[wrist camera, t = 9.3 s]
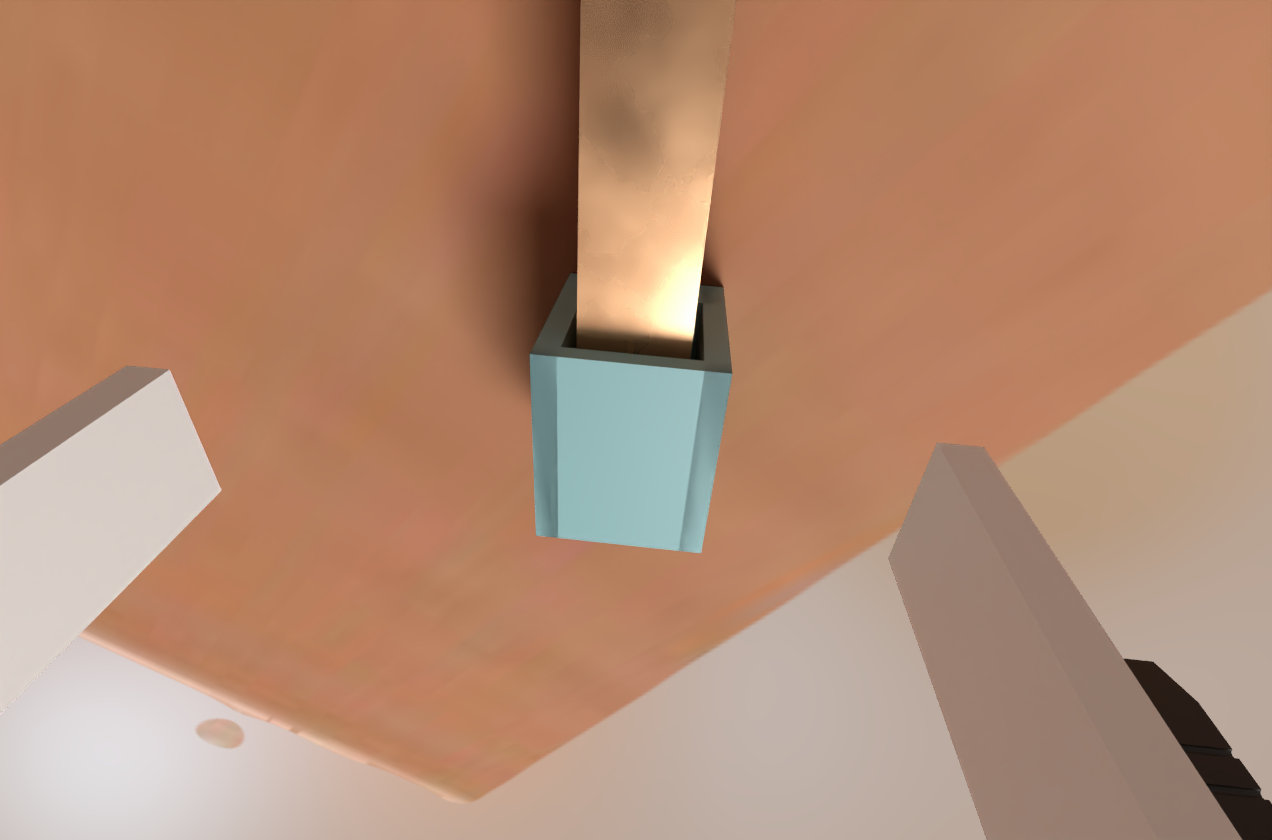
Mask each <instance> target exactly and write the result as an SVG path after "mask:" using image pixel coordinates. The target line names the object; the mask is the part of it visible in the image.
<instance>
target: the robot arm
mask: <svg viewBox="0 0 1272 840" xmlns="http://www.w3.org/2000/svg"><path fill="white" fill-rule="evenodd" d="M220 491H221V488H220V486H219V484H218V481H217V479H216V477H215V474H214V472H213V470H212V467H211V465H210V463H209V460H208V458H207V456H206V453H205V451H204V449H203V446H202V444H201V442H200V439H199V437H198V435H197V432H196V430H195V428H194V425H193V423H192V421H191V418H190V416H189V414H188V411H187V409H186V407H185V404H184V402H183V400H182V397H181V395H180V393H179V390H178V388H177V386H176V383H175V381H174V379H173V376H172V374H171V372H170V370H168V369H158V368H147V367H136V366H125V367H124V368H122V369H121V370H119V371H117V372H116V373H114V374H113V375H111V376H109V377H108V378H106V379H105V380H103V381H101V382H100V383H98V384H97V385H95V386H93V387H92V388H90V389H89V390H87V391H85V392H84V393H82V394H81V395H79V396H77V397H76V398H74V399H73V400H71V401H69V402H68V403H66V404H65V405H63V406H61V407H60V408H58V409H57V410H55V411H53V412H52V413H50V414H49V415H47V416H45V417H44V418H42V419H41V420H39V421H37V422H36V423H34V424H33V425H31V426H29V427H28V428H26V429H25V430H23V431H22V432H20V433H18V434H17V435H15V436H14V437H12V438H10V439H9V440H7V441H6V442H4V443H2V444H1V445H0V714H2V712H3V711H4V710H5V709H6V708H7V707H8V706H9V705H10V704H11V703H12V702H13V701H14V700H15V699H16V698H17V697H18V696H19V695H20V694H21V693H22V692H23V691H24V690H25V689H26V688H27V687H28V686H29V685H30V684H31V683H32V682H33V681H34V680H35V679H36V678H37V677H38V676H39V675H40V674H41V673H42V672H43V671H44V670H45V669H46V668H47V667H48V666H49V665H50V664H51V663H52V662H53V661H54V660H55V659H56V658H57V657H58V656H59V655H60V654H61V653H62V651H64V650H65V649H66V647H68V646H69V644H71V643H72V642H73V641H74V639H75V638H76V637H77V636H78V635H79V634H80V633H81V632H82V631H83V630H84V629H85V628H86V627H87V626H88V625H89V624H90V623H91V622H92V621H93V620H94V619H95V618H96V617H97V616H98V615H99V614H100V613H101V612H102V611H103V610H104V609H105V608H106V607H107V606H108V605H109V604H110V603H111V602H112V601H113V600H114V599H115V598H116V597H117V596H118V595H119V594H120V593H121V592H122V591H123V590H124V589H125V588H126V587H127V586H128V585H129V584H130V583H131V582H132V581H133V580H134V579H135V578H136V577H137V576H138V575H139V574H140V573H141V572H142V571H143V570H144V569H145V568H146V567H147V565H148V564H149V563H150V562H151V561H152V560H153V559H154V558H155V557H156V556H157V555H158V554H159V553H160V552H161V551H162V550H163V549H164V548H165V547H166V546H167V545H168V544H169V543H170V542H171V541H172V540H173V539H174V538H175V537H176V536H177V535H178V534H179V533H180V532H181V531H182V530H183V529H184V528H185V527H186V526H187V525H188V524H189V523H190V522H191V521H192V520H193V519H194V518H195V517H196V516H197V515H198V514H199V513H200V512H201V511H202V510H203V509H204V508H205V507H206V506H207V505H208V504H209V503H210V502H211V501H212V500H213V499H214V498H215V497H216V496H217V495H218V494H219V493H220ZM889 562H890V565H891V567H892V571H893V573H894V576H895V579H896V582H897V585H898V588H899V591H900V593H901V596H902V599H903V602H904V605H905V608H906V610H907V613H908V616H909V619H910V622H911V625H912V628H913V630H914V633H915V636H916V639H917V642H918V645H919V648H920V650H921V653H922V656H923V659H924V661H925V665H926V668H927V670H928V673H929V676H930V679H931V682H932V685H933V688H934V690H935V693H936V696H937V699H938V702H939V705H940V707H941V710H942V713H943V716H944V719H945V722H946V725H947V728H948V730H949V733H950V736H951V739H952V742H953V745H954V747H955V750H956V753H957V756H958V759H959V762H960V764H961V768H962V770H963V773H964V776H965V779H966V781H967V785H968V788H969V790H970V793H971V796H972V799H973V802H974V805H975V808H976V810H977V813H978V816H979V819H980V822H981V825H982V827H983V830H984V833H985V836H986V839H987V840H1272V804H1271V802H1270V801H1269V800H1264V799H1263V798H1262V796H1261V794H1260V791H1261V788H1260V787H1259V786H1258V784H1257V783H1256V782H1255V780H1254V779H1253V777H1252V776H1251V775H1250V773H1249V772H1248V770H1247V769H1246V768H1245V766H1244V765H1243V764H1242V762H1241V761H1240V760H1239V759H1236V758H1234V757H1233V756H1232V754H1231V751H1232V748H1231V747H1230V746H1229V744H1228V743H1227V741H1226V740H1225V739H1224V738H1223V736H1222V735H1221V733H1220V732H1219V730H1218V729H1217V728H1216V726H1215V725H1214V724H1213V722H1212V721H1211V719H1210V718H1209V717H1208V715H1207V714H1206V712H1205V711H1204V710H1203V709H1202V707H1201V706H1200V704H1199V703H1198V702H1197V701H1196V700H1195V699H1194V698H1193V697H1192V696H1190V695H1189V694H1188V693H1187V692H1186V691H1185V690H1184V689H1183V688H1182V687H1181V686H1179V685H1178V684H1177V683H1176V682H1175V681H1174V680H1173V679H1172V678H1171V677H1169V676H1168V675H1167V674H1166V673H1165V672H1164V671H1163V670H1162V669H1161V668H1159V667H1158V666H1157V665H1156V664H1155V663H1154V662H1150V661H1140V660H1131V659H1123V658H1122V656H1121V655H1120V653H1119V652H1118V650H1117V649H1116V647H1115V645H1114V644H1113V642H1112V641H1111V640H1110V638H1109V637H1108V635H1107V633H1106V632H1105V630H1104V629H1103V628H1102V626H1101V624H1100V623H1099V622H1098V620H1097V618H1096V617H1095V615H1094V614H1093V612H1092V610H1091V609H1090V607H1089V606H1088V605H1087V603H1086V601H1085V600H1084V599H1083V597H1082V595H1081V594H1080V592H1079V591H1078V589H1077V588H1076V586H1075V585H1074V583H1073V582H1072V580H1071V579H1070V577H1069V576H1068V574H1067V573H1066V571H1065V569H1064V568H1063V567H1062V565H1061V563H1060V562H1059V561H1058V559H1057V557H1056V556H1055V554H1054V553H1053V551H1052V550H1051V548H1050V547H1049V545H1048V544H1047V542H1046V541H1045V539H1044V538H1043V536H1042V534H1041V533H1040V531H1039V530H1038V528H1037V527H1036V526H1035V524H1034V522H1033V521H1032V519H1031V518H1030V516H1029V515H1028V513H1027V512H1026V510H1025V509H1024V507H1023V506H1022V504H1021V503H1020V501H1019V500H1018V498H1017V497H1016V495H1015V493H1014V492H1013V490H1012V489H1011V487H1010V486H1009V485H1008V483H1007V481H1006V480H1005V478H1004V477H1003V475H1002V474H1001V472H1000V471H999V469H998V468H997V466H996V465H995V463H994V462H993V460H992V458H991V457H990V455H989V454H988V452H987V451H986V449H985V448H984V447H978V446H968V445H957V444H947V443H937V444H936V446H935V449H934V451H933V453H932V456H931V458H930V461H929V463H928V465H927V468H926V470H925V472H924V475H923V477H922V480H921V482H920V484H919V487H918V489H917V491H916V494H915V496H914V498H913V501H912V503H911V506H910V508H909V510H908V513H907V515H906V517H905V520H904V522H903V525H902V527H901V529H900V532H899V534H898V536H897V539H896V541H895V544H894V546H893V549H892V551H891V553H890V555H889Z"/></svg>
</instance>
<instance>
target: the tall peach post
mask: <svg viewBox="0 0 1272 840" xmlns="http://www.w3.org/2000/svg"><path fill="white" fill-rule="evenodd" d="M735 6H736V0H581V18H580V101H579V185H578V268H577V349H587V350H597V351H607V352H618V353H628V354H638V355H649V356H659V357H669V358H680V359H690V357H691V349H692V341H693V333H694V326H695V318H696V310H697V302H698V294H699V287H700V279H701V271H702V263H703V255H704V248H705V240H706V232H707V224H708V217H709V209H710V201H711V193H712V185H713V178H714V170H715V162H716V154H717V146H718V139H719V131H720V123H721V115H722V107H723V100H724V92H725V84H726V76H727V69H728V61H729V53H730V45H731V37H732V30H733V22H734V14H735Z"/></svg>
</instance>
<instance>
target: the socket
mask: <svg viewBox="0 0 1272 840" xmlns="http://www.w3.org/2000/svg"><path fill="white" fill-rule="evenodd" d="M731 378H732V367H731V357H730V347H729V337H728V327H727V317H726V308H725V298H724V288H723V287H715V286H705V285H700V287H699V294H698V302H697V310H696V318H695V326H694V333H693V341H692V349H691V357H690V359H680V358H669V357H659V356H649V355H638V354H628V353H618V352H607V351H597V350H587V349H577V274H575V273H570V275H569V277H568V279H567V281H566V283H565V285H564V287H563V289H562V291H561V293H560V295H559V297H558V299H557V301H556V303H555V305H554V307H553V309H552V311H551V313H550V315H549V317H548V319H547V321H546V323H545V325H544V327H543V328H542V330H541V332H540V334H539V336H538V338H537V340H536V342H535V344H534V346H533V348H532V350H531V352H530V380H531V408H532V436H533V464H534V492H535V520H536V535H537V536H546V537H556V538H565V539H574V540H583V541H593V542H602V543H611V544H621V545H630V546H639V547H649V548H658V549H667V550H677V551H686V552H695V553H701V550H702V545H703V539H704V533H705V527H706V522H707V516H708V510H709V504H710V499H711V493H712V487H713V482H714V476H715V470H716V464H717V459H718V453H719V447H720V441H721V436H722V430H723V424H724V418H725V413H726V407H727V401H728V395H729V390H730V384H731Z"/></svg>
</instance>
